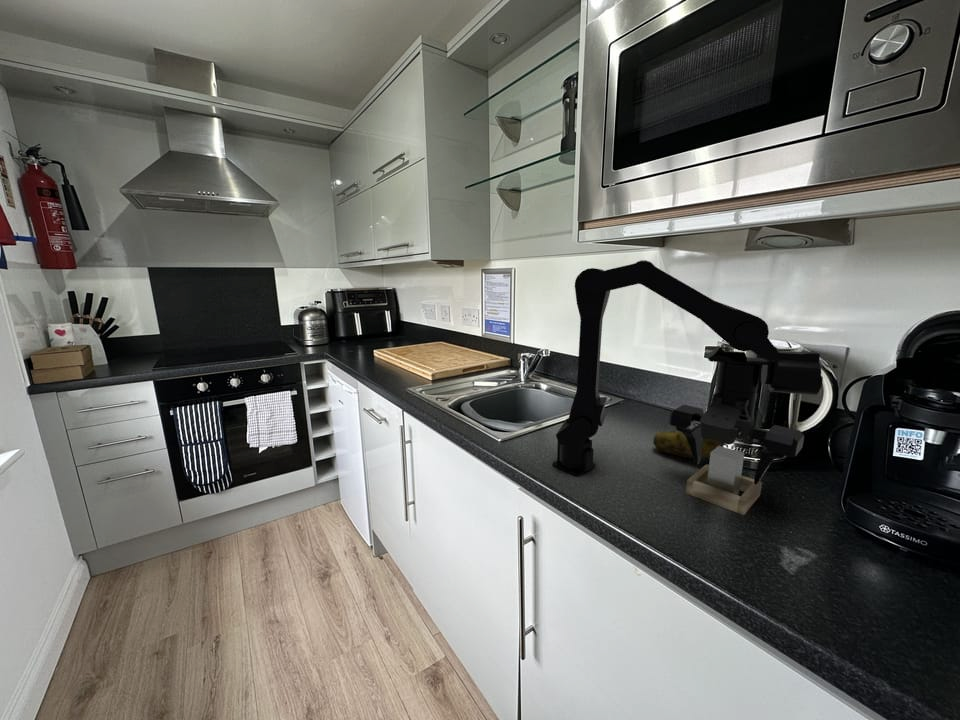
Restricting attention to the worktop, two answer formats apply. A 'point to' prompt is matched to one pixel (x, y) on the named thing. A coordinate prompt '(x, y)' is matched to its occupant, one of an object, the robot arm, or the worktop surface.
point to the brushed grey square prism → (725, 469)
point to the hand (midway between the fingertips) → (725, 473)
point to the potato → (682, 444)
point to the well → (724, 492)
